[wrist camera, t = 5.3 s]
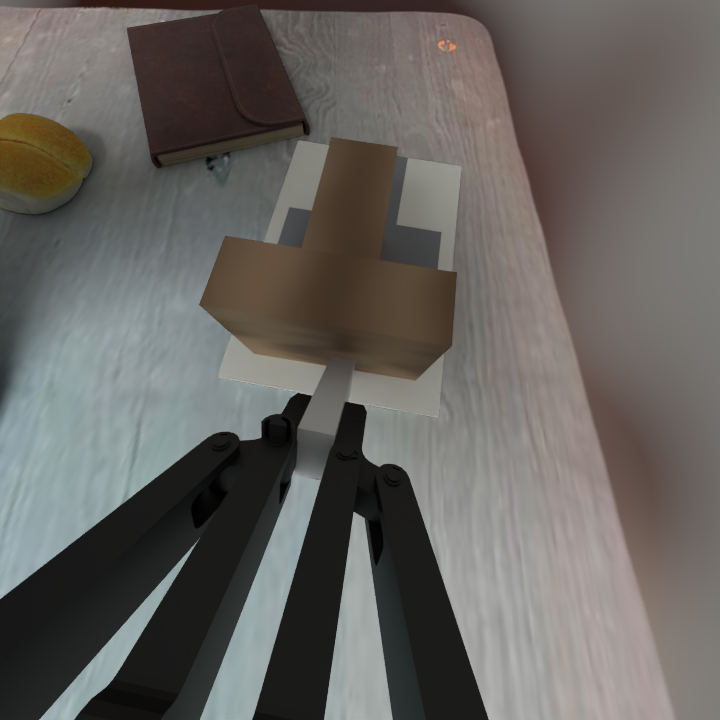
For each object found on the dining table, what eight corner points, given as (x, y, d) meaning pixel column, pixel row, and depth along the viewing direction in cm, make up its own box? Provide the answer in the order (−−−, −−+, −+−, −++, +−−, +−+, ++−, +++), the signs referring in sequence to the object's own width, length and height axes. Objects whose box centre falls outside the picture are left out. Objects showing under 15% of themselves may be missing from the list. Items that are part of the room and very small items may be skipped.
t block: (254, 353, 20) (199, 304, 13) (292, 223, 23) (265, 127, 16) (415, 380, 20) (451, 345, 13) (430, 245, 23) (464, 157, 16)
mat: (220, 377, 20) (217, 376, 19) (299, 145, 27) (298, 140, 26) (436, 417, 20) (438, 417, 19) (459, 171, 27) (461, 166, 26)
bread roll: (110, 149, 26) (69, 99, 23) (69, 222, 24) (15, 180, 20) (27, 138, 27) (-27, 87, 23) (-23, 210, 24) (-94, 166, 20)
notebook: (159, 172, 26) (144, 150, 24) (135, 48, 31) (120, 22, 29) (310, 138, 28) (307, 116, 26) (263, 27, 33) (258, 1, 31)
